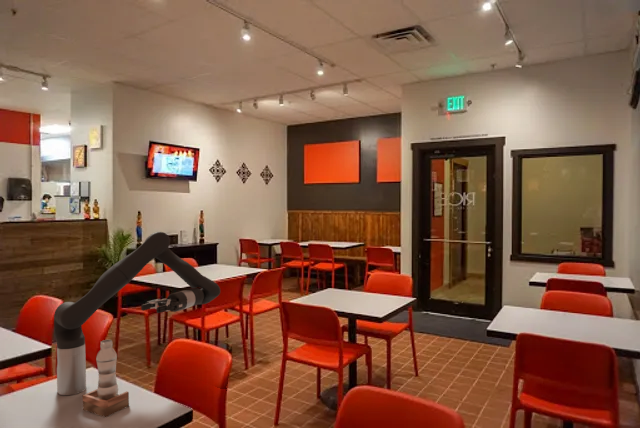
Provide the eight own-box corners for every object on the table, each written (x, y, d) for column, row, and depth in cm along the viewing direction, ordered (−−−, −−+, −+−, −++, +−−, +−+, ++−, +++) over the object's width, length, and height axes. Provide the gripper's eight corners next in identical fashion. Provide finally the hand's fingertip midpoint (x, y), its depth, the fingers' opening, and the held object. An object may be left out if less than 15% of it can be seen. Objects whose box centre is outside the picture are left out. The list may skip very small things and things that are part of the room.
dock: (82, 409, 150) (82, 395, 150) (106, 399, 158) (106, 385, 158) (105, 417, 145) (105, 402, 145) (128, 406, 153) (128, 391, 152)
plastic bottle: (110, 403, 148) (108, 344, 147) (92, 401, 149) (91, 343, 149) (122, 395, 154) (121, 339, 154) (105, 393, 156) (104, 337, 155)
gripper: (168, 289, 185) (136, 297, 171) (193, 292, 179) (162, 301, 164) (169, 307, 186) (137, 316, 171) (194, 311, 179) (162, 321, 165)
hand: (149, 309), depth 168 cm, fingers open, 8 cm apart
